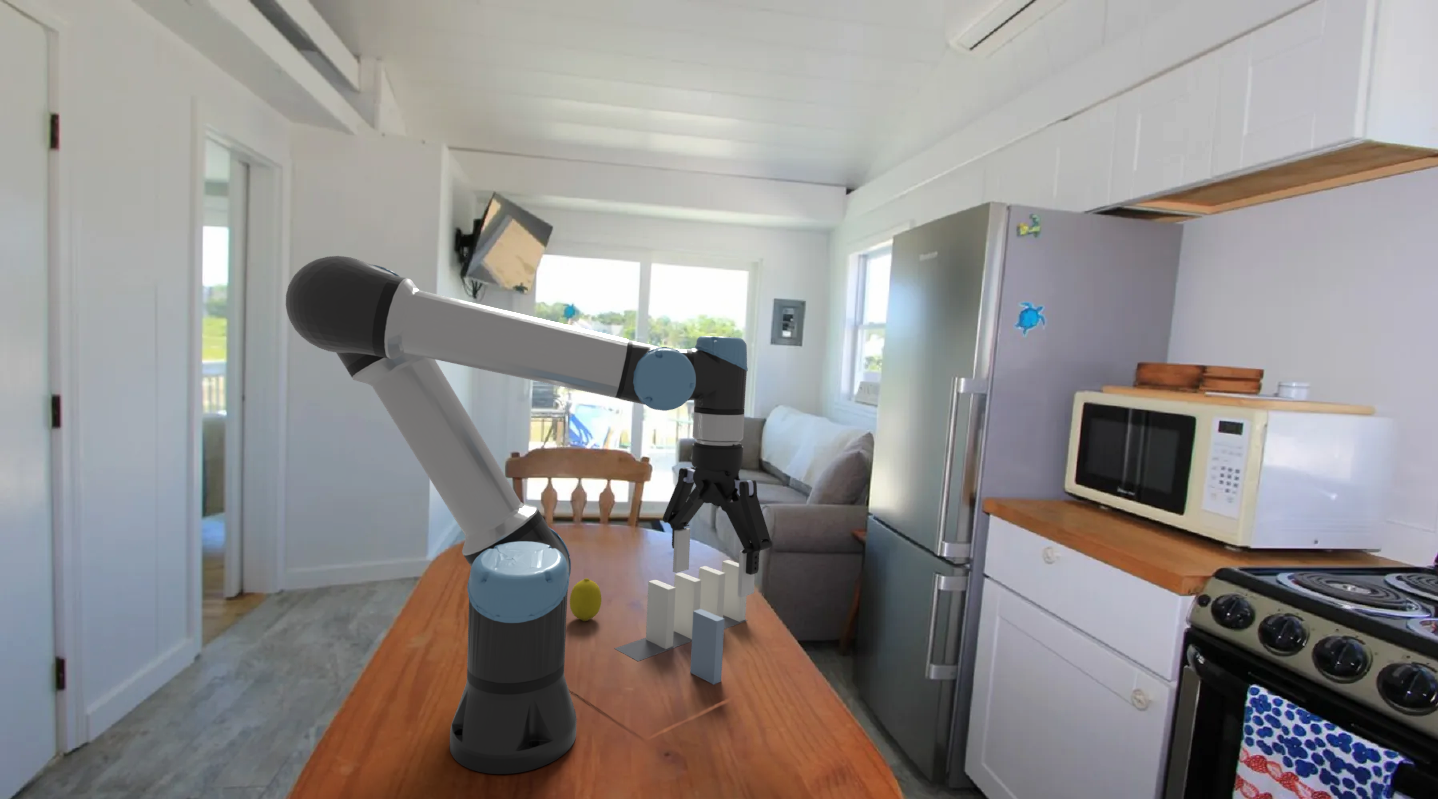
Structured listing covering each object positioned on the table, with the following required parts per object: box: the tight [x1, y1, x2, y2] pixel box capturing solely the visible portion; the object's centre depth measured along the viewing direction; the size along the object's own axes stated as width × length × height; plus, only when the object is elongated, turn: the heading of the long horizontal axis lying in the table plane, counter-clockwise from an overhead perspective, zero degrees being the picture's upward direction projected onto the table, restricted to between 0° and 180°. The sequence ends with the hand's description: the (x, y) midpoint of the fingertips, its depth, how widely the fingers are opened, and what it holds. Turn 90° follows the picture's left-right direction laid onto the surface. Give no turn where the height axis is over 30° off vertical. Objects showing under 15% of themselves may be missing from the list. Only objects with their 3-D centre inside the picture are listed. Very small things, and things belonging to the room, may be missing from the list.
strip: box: [614, 615, 748, 662], centre depth 120 cm, size 26×6×1 cm, turn 136°
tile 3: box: [673, 571, 701, 639], centre depth 120 cm, size 2×5×10 cm, turn 46°
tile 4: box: [698, 565, 725, 618], centre depth 124 cm, size 2×5×10 cm, turn 46°
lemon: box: [569, 577, 602, 622], centre depth 124 cm, size 6×6×8 cm
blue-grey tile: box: [689, 609, 725, 686], centre depth 105 cm, size 2×5×10 cm, turn 46°
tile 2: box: [645, 579, 676, 649], centre depth 116 cm, size 2×5×10 cm, turn 46°
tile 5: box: [721, 559, 748, 622], centre depth 129 cm, size 2×5×10 cm, turn 46°
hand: (711, 582), depth 104 cm, fingers open, 13 cm apart
